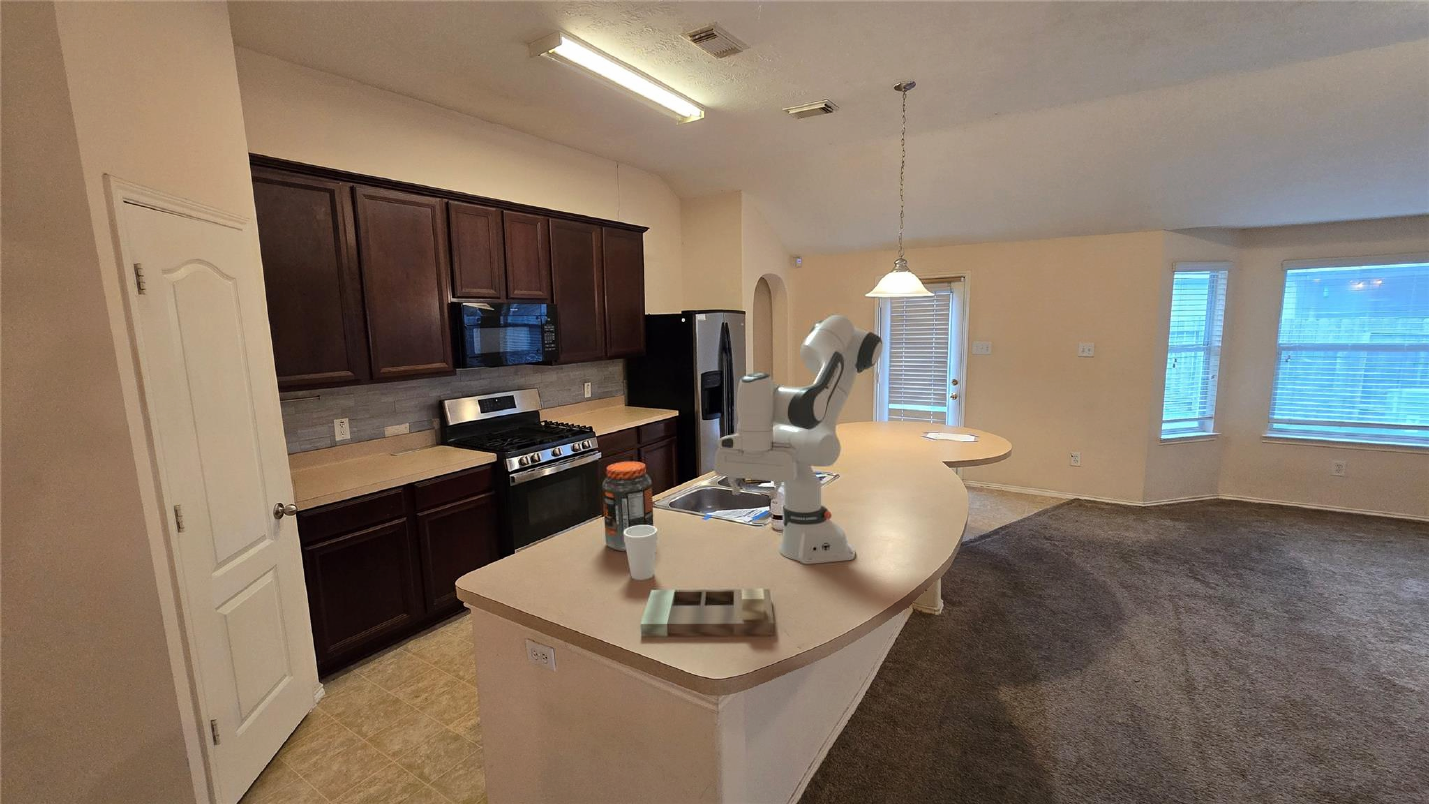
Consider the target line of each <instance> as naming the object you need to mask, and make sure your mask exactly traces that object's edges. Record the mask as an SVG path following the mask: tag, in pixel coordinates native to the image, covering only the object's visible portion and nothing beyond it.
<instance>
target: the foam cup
mask: <svg viewBox="0 0 1429 804" xmlns="http://www.w3.org/2000/svg"><path fill="white" fill-rule="evenodd" d="M657 541H658V527H655V526H654V525H653V526H650V525H637V526H632V527H629V528H627V529H626V530H624V542H625V546H626V551H625V552H626V556H627V562H628V567H629V570H630V571H629V573H630V575H631V578H632V579H633V580H636V581H644V580H648V579H650V578H652V577H653V576H654V575H655V574H654V573H655V563H656V553H657V552H656V551H657Z"/></svg>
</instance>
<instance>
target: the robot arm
mask: <svg viewBox="0 0 1429 804" xmlns="http://www.w3.org/2000/svg"><path fill="white" fill-rule="evenodd" d="M853 324H854V323H853V322H852V321H851V320H850V319H849V318H848V317H846V316H844V315H841V314H834V315H830V316H829V317H827V318H826V319H824V320H820V321H817V322H816V323H815V324H813V326H812V327H811V329H810V332H809V334H808V335H807V337H805V338H804V340H803V342H802V344H801V347H800V352H799V353H800V356H801V361H802V362H803V364H804V366H805V367H806V369H808V370H809V371H810V372H812V373H813V374H816V377H815V379H814V381H813V383H812V384H810V385H807V386H791V385H790V386H789V385H781V384H779V383H777V382H775V381H774V379H772V375H770V374H769V373H767V372H756V373H755V372H754V373H748V374H745V375H744V376H742V377H741V378H740V380H739V383H738V387H737V394H736V413H737V417H738V418H737V419H738V422H737V424H736V433H730V434H729V435H725V436H722V437H721V438H719V439H718V440H717V447H718V449H717V450H716V451H715V456H714V465H713V471H714V473H715V474H716V476H718V477H725V478H726V477H727V481H728V483H729V485H730V487H731V489H732V490H731V491H732V495H733V496H740V494H741V486H738V485H737V483H736V480H737V479H739V478H740V479H747V480H756V481H767V482H773V486H774V489H773V490H772V489H771V490H770V491H769V496H768V498H769V499H770V500H777V498H778V491H779V489H780V488H781V486H782V484H783V494H784V495H783V497H784V498H783V499H784V500H783V501H784V504H783V506H782V524H783V529H782V530H783V531H782V532H783V533H782V538H781V542H780V546H779V552H780V554H781V555H782V556H784V557H786V558H788V559H790V560H794V561H797V562H799V563H801V564H804V565H812V564H821V563H832V562H842V561H843V562H844V561H850V560H851V561H852V560H854V559H855V556H856V551H855V548H854V546H853V544H851V543H850V542H849V541H848V540H847V536H846V533H845V532H844V530H843V528H842V527H841V526H839V524H837V523H835V521H833V520H831V518H832V516H833V515H832V513H831V512H830V511H829V509H828V508H827V507H826V506H825V505H822V482H821V480H820V479H819V477H818V475H816V473H815V471H814V470H813V469H812V467H817V468H818V467H830V466H833V465H834V464H835V463H836V462H837V461H838V459H839V458H840V455H841V448H842V447H841V442H840V439H839V438H838V436H837V432H836V431H837V430H836V428H837V421H838V418H839V416H840V414H841V412H842V410H843V407H844V406H845V403H846V401H847V399H848V397H849V395H850V393H851V390H853V386H854V383H855V380H856V376H857V373H858V374H860V373H861V374H862V372H864V370H869V369H870V368H872V367H873V366H874V365H876V363H877V362H878V361H879V359H880V357H881V355H882V351H883V341H882V337H880V336H879V335H878V334H876V333H873V332H872V331H867V330H864V329H862V328H859V327H856V326H854V325H853Z"/></svg>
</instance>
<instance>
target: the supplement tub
mask: <svg viewBox="0 0 1429 804" xmlns="http://www.w3.org/2000/svg"><path fill="white" fill-rule="evenodd" d="M605 474H606V475H607V476H606V477H605V478H604V480H603V482H602V486H601V488H602V503H603V505H602V506H603V517H604V518H603V520H604V534H605V535H604V536H605V543H606V545H607V546H608V547H609V548H611V549H612V550H616V551H621V552H627V551H626V546H625V542H624V530H626V529H627V528H629V527H632V526H637V525H650V526H654V505H653V502H654V501H653V487H652V486H653V485H652V484H653V482H652V479H651V478H650V476H649V475H648V474H647V469H646V464H645V463H643V462H640V461H620V462H615V463H612V464H610V465H608V466H607V467H606V472H605Z"/></svg>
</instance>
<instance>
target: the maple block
mask: <svg viewBox="0 0 1429 804" xmlns="http://www.w3.org/2000/svg"><path fill="white" fill-rule="evenodd" d="M741 589H742V620H765V618H764V592H763V589H764V588H763V587H762V588H756V587H755V588H741Z"/></svg>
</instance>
